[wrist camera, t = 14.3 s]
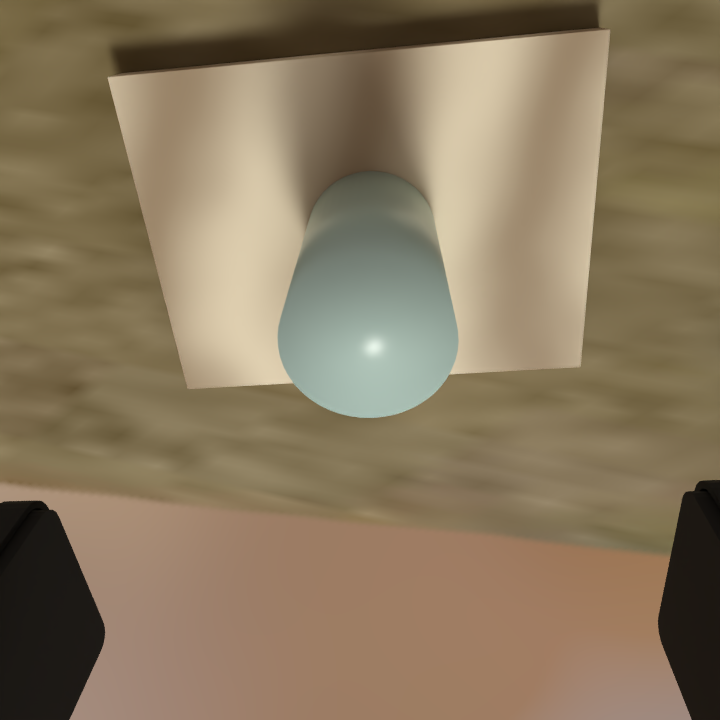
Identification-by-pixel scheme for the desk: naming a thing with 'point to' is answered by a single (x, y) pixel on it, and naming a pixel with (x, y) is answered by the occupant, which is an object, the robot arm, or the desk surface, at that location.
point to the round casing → (369, 301)
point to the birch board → (384, 154)
